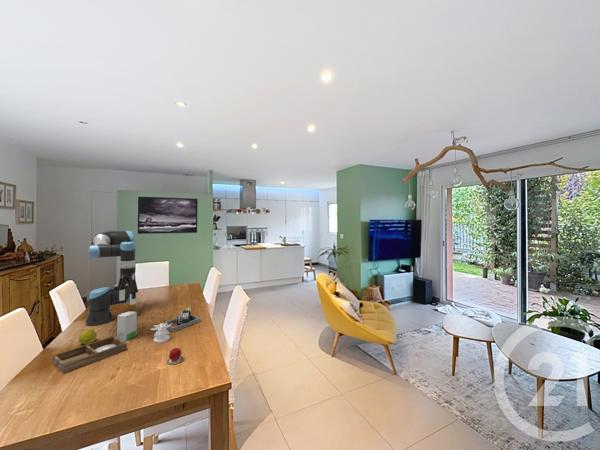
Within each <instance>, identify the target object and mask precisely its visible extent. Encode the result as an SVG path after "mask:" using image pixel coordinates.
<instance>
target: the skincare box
mask: <svg viewBox="0 0 600 450" xmlns="http://www.w3.org/2000/svg"><path fill="white" fill-rule="evenodd" d="M116 318H117V320H116V322H117V325H116V327H117V329H116V337H117V338H118V339H120V340H122V341H124V342H126V341H128V340H130V339H132V338H134V337H136V336H137V331H138V329H137V323H138V322H137V321H138V319H137V318H138V312H137V311H126V312H122V313H120V314H118V315H117V317H116Z"/></svg>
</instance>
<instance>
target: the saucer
mask: <svg viewBox="0 0 600 450" xmlns="http://www.w3.org/2000/svg"><path fill="white" fill-rule="evenodd" d="M115 346H116V345H113V344H111V345H105V346H102V347H99V348H97V349H96V351H97V352H101V351H104V350H106V349H109V348H112V347H115Z"/></svg>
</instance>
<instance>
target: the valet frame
mask: <svg viewBox="0 0 600 450" xmlns="http://www.w3.org/2000/svg"><path fill="white" fill-rule="evenodd" d="M201 319H202V318H201V317H198V316H196V315H192V314H191V319H190V321H189V322H188V323H185V324H177V325H176V326H172V325H173V324H175V323H176V318H173V319H170V320H167V321H164V322H163V323H164V324H165V323H167V325H170V324H172V325H171V326H170V327H168V328H167V329H166V330H167V331H168V332H172V333H174V332H176V331H180V330H182V329H185V328H187V327H190V326H192V325H195V324H198V323H200V322H201Z"/></svg>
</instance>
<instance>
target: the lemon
mask: <svg viewBox="0 0 600 450" xmlns="http://www.w3.org/2000/svg"><path fill="white" fill-rule="evenodd" d="M96 339H97V331H95V330H94V329H90V328H89V329H85V330H83V331H82V332H81V334H80V335H79V337H78V342H79V344H80V345H82V346H84V345H87V344H90V343H93V342H96V341H95V340H96Z"/></svg>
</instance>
